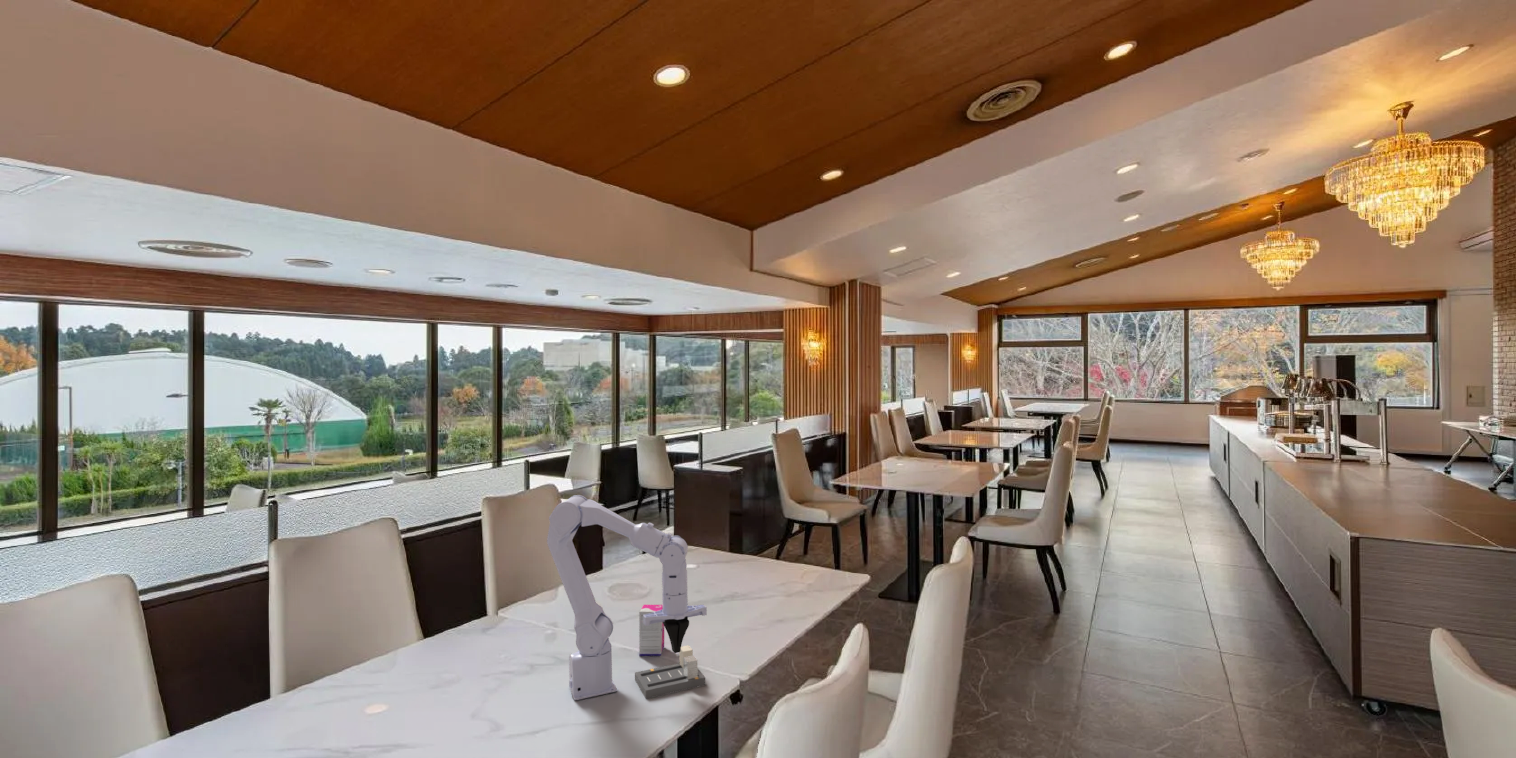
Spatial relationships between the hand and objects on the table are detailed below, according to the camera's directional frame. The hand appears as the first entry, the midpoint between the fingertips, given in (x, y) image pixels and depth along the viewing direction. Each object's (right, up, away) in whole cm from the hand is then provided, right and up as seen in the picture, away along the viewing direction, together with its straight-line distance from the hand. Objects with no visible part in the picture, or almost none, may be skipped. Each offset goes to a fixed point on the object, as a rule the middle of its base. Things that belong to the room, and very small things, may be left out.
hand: (676, 650), depth 149 cm
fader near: (+3, -7, +1) cm, 8 cm away
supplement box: (-9, -9, +20) cm, 24 cm away
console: (-2, -8, +2) cm, 9 cm away
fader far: (+2, -7, +7) cm, 10 cm away
